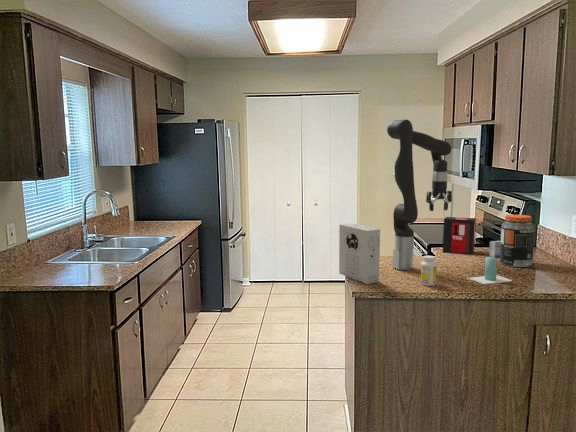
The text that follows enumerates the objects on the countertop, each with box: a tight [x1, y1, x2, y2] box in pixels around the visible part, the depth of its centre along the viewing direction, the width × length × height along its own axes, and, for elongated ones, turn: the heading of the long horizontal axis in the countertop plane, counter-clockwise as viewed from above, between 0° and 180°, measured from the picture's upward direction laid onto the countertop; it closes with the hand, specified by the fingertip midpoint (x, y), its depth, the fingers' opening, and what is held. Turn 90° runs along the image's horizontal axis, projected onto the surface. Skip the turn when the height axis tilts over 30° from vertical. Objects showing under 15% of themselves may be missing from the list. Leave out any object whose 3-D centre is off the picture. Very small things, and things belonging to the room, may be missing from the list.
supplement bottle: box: [420, 255, 437, 287], centre depth 215 cm, size 7×7×13 cm
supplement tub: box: [499, 214, 535, 268], centre depth 247 cm, size 16×16×26 cm
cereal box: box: [338, 222, 381, 285], centre depth 225 cm, size 22×8×25 cm, turn 30°
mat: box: [466, 274, 513, 285], centre depth 222 cm, size 16×12×1 cm
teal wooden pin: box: [484, 256, 498, 281], centre depth 220 cm, size 5×5×10 cm
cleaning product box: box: [442, 216, 477, 256], centre depth 277 cm, size 16×9×20 cm, turn 64°
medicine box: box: [488, 240, 501, 258], centre depth 267 cm, size 8×4×9 cm, turn 105°
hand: (438, 210), depth 252 cm, fingers open, 8 cm apart
